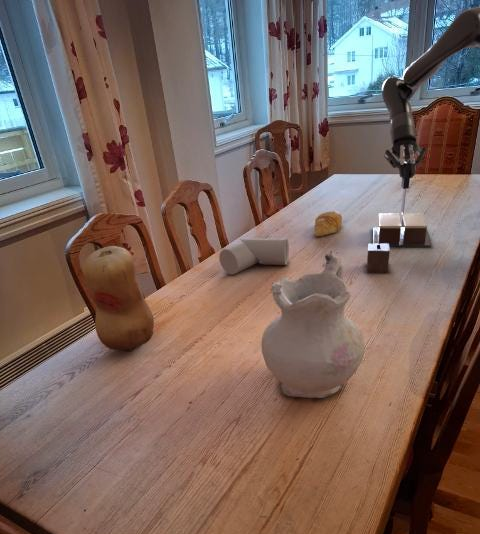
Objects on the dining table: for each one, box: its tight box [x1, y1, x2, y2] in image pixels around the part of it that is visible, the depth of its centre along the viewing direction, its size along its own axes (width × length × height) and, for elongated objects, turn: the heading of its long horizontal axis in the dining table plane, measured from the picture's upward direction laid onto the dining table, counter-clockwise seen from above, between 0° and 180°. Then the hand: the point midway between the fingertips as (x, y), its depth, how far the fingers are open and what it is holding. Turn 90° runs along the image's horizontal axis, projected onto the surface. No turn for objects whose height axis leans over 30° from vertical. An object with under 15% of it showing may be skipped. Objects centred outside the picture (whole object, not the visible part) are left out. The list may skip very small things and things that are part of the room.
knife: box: [400, 161, 412, 216], centre depth 143 cm, size 2×3×17 cm, turn 175°
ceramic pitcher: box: [261, 250, 366, 399], centre depth 82 cm, size 22×20×25 cm
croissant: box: [313, 211, 343, 237], centre depth 164 cm, size 21×10×8 cm, turn 147°
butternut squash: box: [83, 245, 155, 352], centre depth 99 cm, size 14×13×25 cm
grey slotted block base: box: [372, 212, 432, 249], centre depth 149 cm, size 18×18×7 cm
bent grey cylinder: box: [218, 238, 290, 276], centre depth 138 cm, size 18×11×20 cm
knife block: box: [366, 242, 391, 274], centre depth 129 cm, size 6×6×7 cm
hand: (407, 176), depth 139 cm, fingers closed on knife, 2 cm apart
